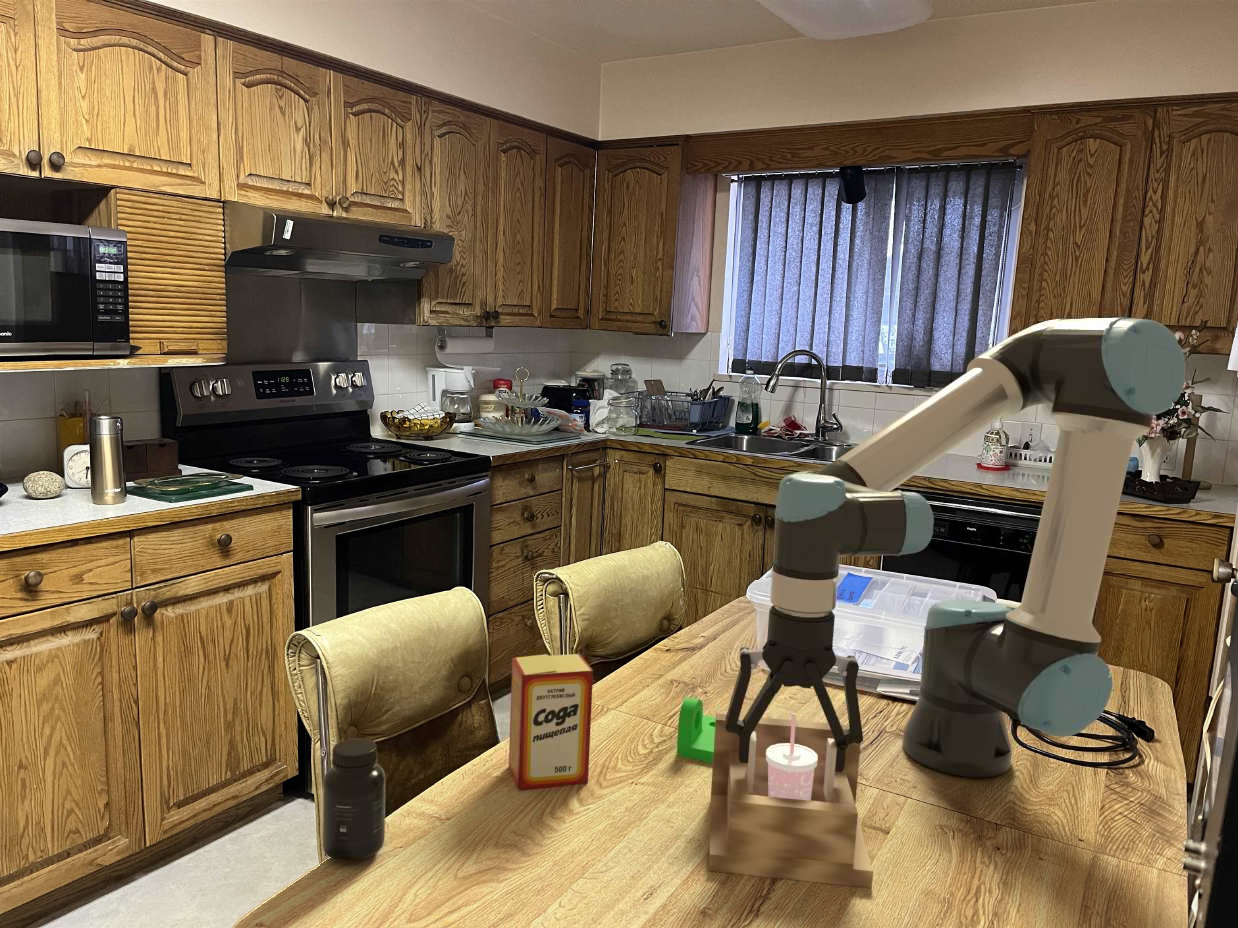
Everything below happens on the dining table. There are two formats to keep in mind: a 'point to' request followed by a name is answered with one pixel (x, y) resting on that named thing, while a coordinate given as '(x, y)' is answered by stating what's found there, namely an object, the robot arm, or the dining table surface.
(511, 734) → the baking soda box
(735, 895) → the dining table surface
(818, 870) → the wooden caddy with backboard
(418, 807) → the dining table surface
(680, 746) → the mechanical part
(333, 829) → the supplement bottle
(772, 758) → the beverage cup
